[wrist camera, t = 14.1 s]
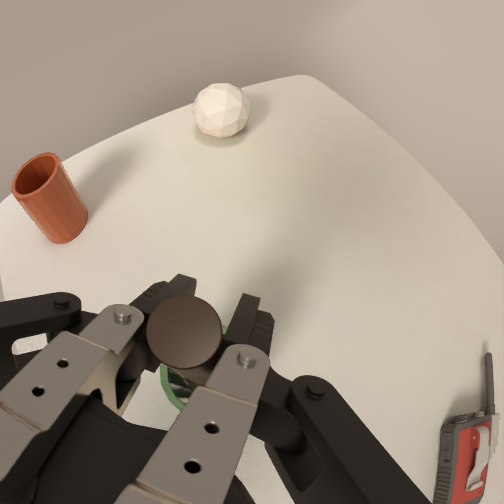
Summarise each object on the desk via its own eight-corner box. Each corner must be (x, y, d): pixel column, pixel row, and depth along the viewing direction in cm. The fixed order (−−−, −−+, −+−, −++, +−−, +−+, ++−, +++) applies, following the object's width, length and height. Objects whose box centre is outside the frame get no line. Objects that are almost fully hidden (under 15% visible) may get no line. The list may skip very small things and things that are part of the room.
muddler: (193, 405, 20) (120, 409, 6) (186, 358, 22) (112, 272, 8) (243, 398, 21) (271, 393, 7) (234, 351, 22) (244, 255, 8)
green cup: (202, 425, 23) (188, 437, 15) (170, 365, 25) (144, 348, 17) (263, 394, 25) (279, 391, 17) (229, 337, 27) (230, 307, 19)
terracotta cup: (49, 252, 30) (10, 208, 22) (44, 214, 32) (12, 169, 24) (91, 230, 31) (60, 180, 23) (83, 194, 34) (57, 144, 26)
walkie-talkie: (478, 499, 17) (486, 354, 27) (501, 502, 14) (509, 345, 23) (426, 522, 17) (438, 360, 27) (449, 530, 13) (462, 352, 23)
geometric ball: (221, 154, 42) (201, 140, 34) (196, 114, 42) (173, 95, 34) (265, 126, 40) (254, 106, 32) (238, 86, 40) (222, 62, 32)
